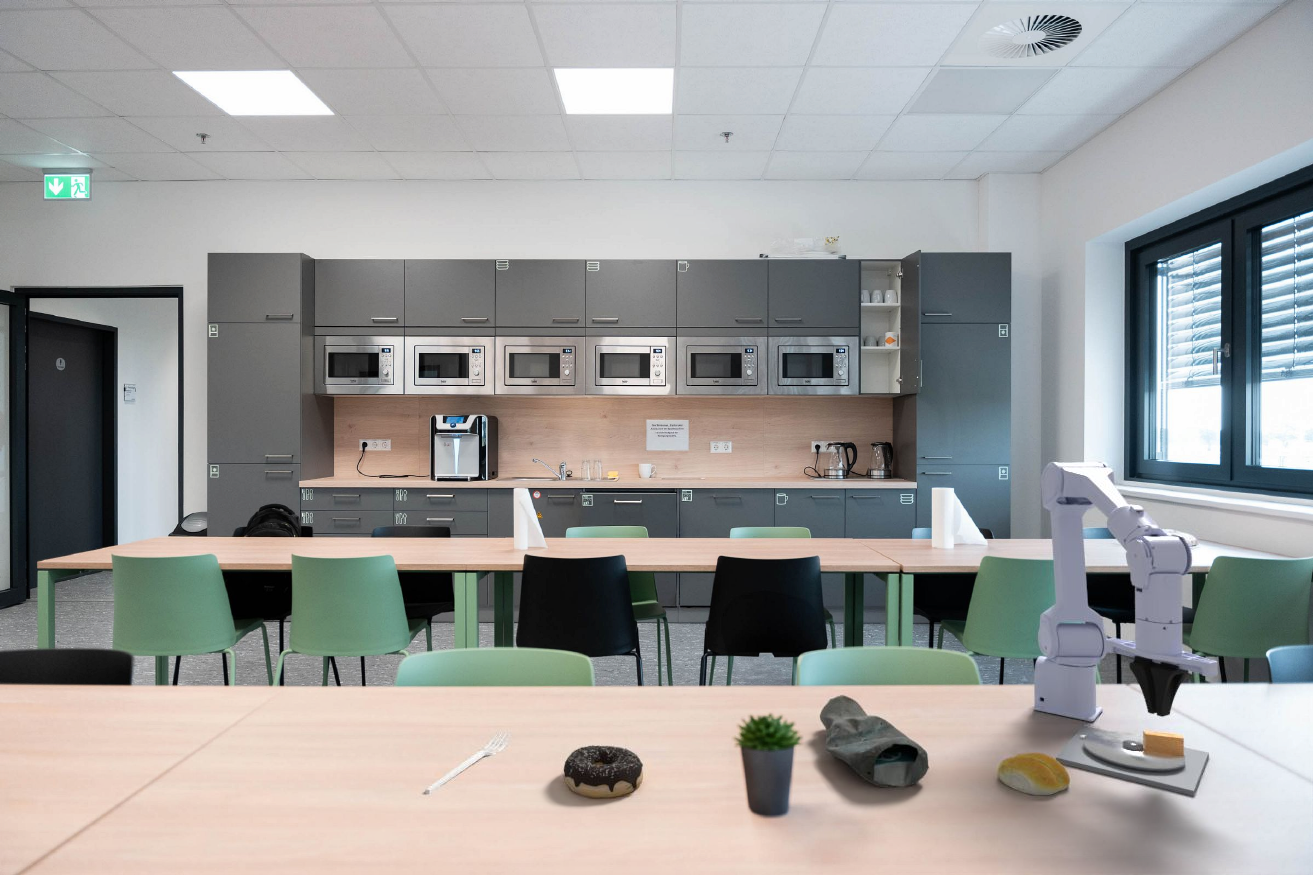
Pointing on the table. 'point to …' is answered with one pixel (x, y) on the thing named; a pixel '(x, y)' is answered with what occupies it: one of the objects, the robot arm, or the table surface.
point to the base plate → (1173, 780)
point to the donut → (603, 771)
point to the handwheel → (1138, 749)
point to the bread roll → (1034, 774)
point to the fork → (471, 760)
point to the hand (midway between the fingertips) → (1158, 713)
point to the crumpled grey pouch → (872, 745)
